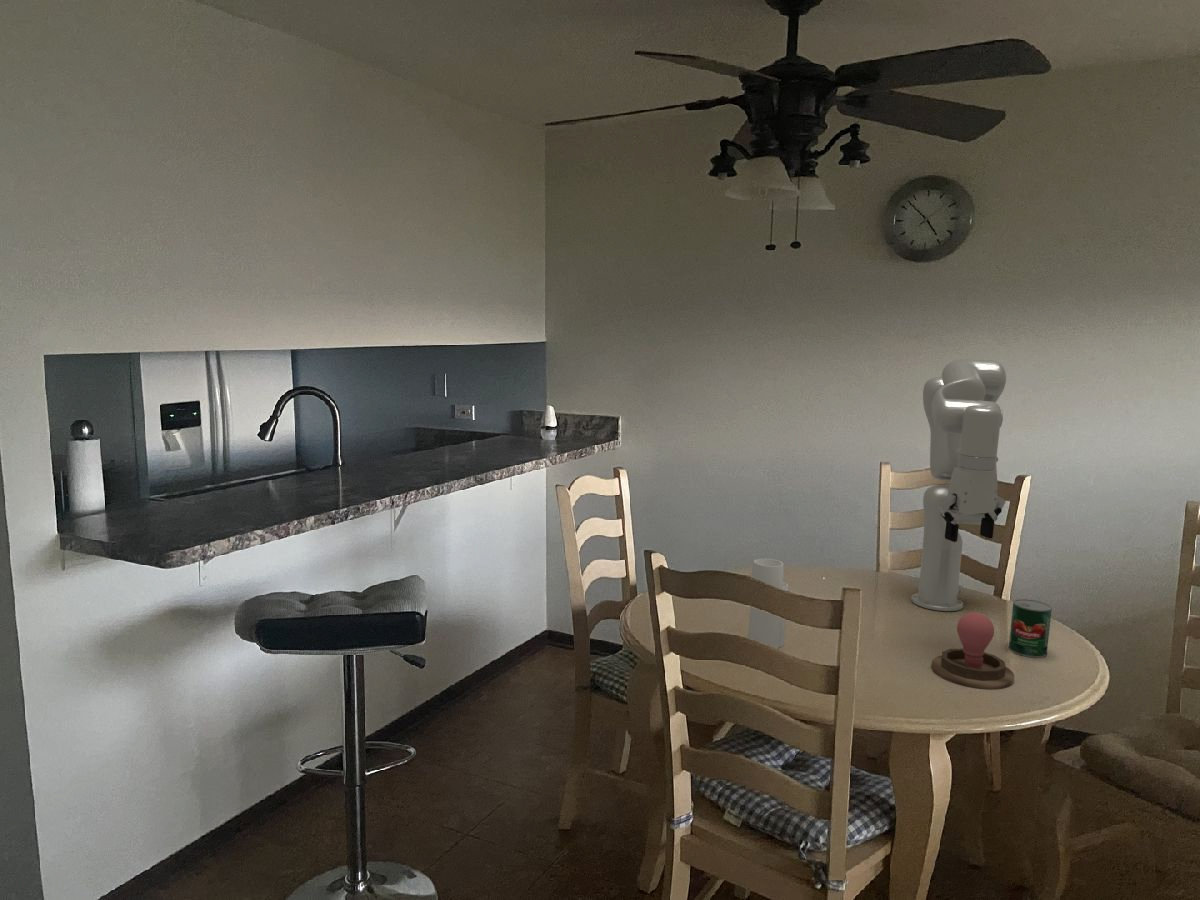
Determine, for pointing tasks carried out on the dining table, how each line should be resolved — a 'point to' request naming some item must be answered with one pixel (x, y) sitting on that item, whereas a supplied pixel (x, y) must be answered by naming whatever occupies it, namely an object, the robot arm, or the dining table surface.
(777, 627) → the vase
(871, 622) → the dining table surface
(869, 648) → the dining table surface
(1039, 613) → the canned tomato
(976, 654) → the light bulb
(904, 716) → the dining table surface
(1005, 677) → the holder
